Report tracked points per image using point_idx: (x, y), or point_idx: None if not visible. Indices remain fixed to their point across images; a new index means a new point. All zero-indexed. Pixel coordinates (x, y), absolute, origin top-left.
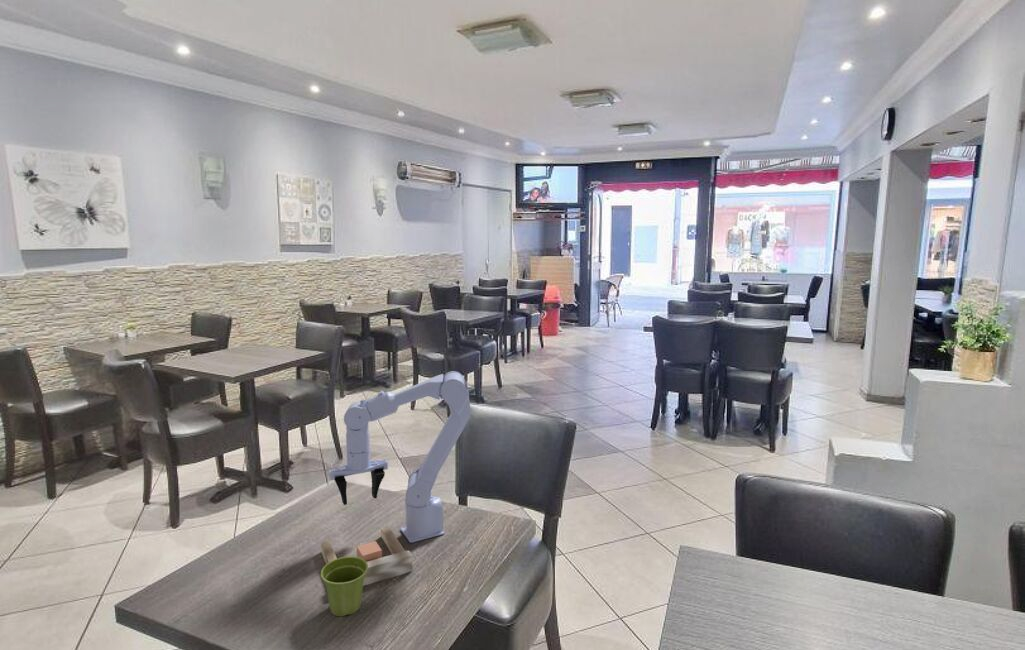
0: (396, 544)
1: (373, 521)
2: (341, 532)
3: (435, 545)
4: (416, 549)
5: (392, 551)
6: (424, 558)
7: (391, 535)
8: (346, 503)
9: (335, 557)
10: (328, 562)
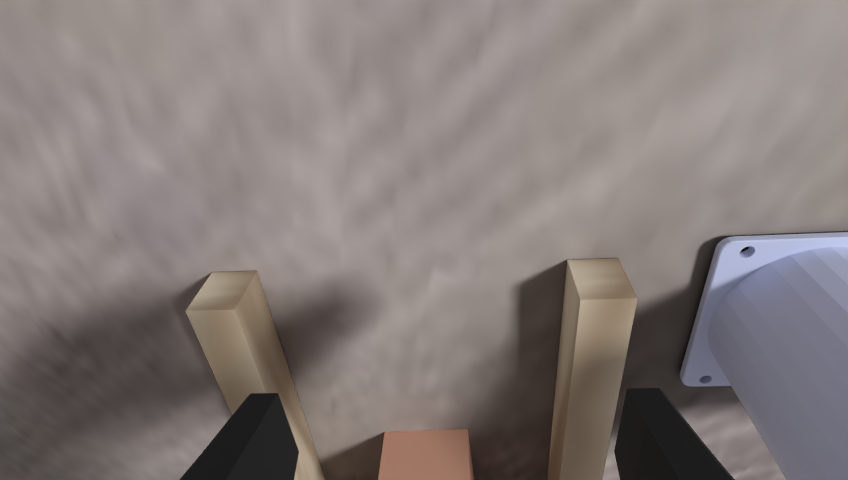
0: (584, 460)
1: (605, 24)
2: (329, 99)
3: None
4: None
5: (556, 434)
6: None
7: (600, 393)
8: (291, 470)
9: None
10: None
